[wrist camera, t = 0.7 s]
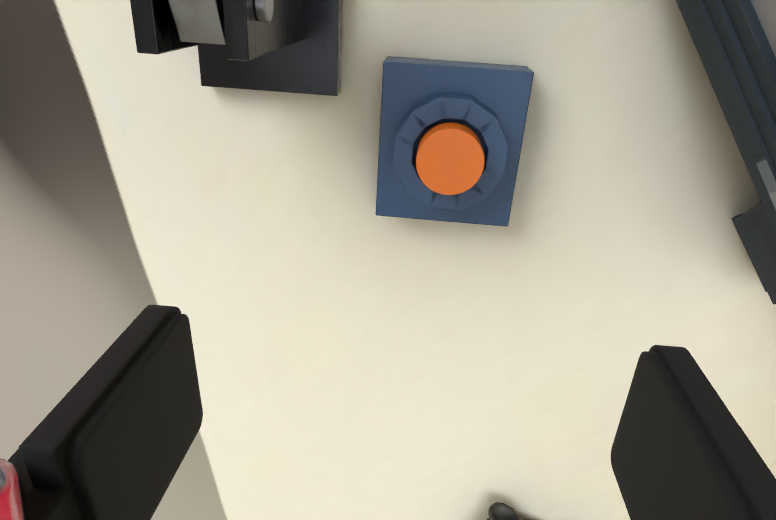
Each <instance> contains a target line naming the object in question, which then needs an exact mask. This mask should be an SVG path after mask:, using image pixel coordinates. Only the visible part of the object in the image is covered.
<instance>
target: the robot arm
mask: <svg viewBox="0 0 776 520" xmlns="http://www.w3.org/2000/svg"><path fill="white" fill-rule="evenodd" d="M202 416H203V411H202V404H201V397H200V391H199V384H198V377H197V371H196V364H195V357H194V351H193V344H192V337H191V331H190V324H189V319H188V317H187V315H185V314H181V311H180V309H179V308H177V307H173V306H160V305H148V306H147V307H146V308H145V309H144V310H143V311H142V312H141V313H140V314H139V316H138V317H137V318H136V319H135V320H134V321H133V322H132V323H131V324H130V326H128V328H127V329H126V330H125V331H124V332H123V333H122V334H121V335H120V336H119V337H118V339H117V340H116V341H115V342H114V343H113V344H112V345H111V346H110V347H109V349H108V350H107V351H106V352H105V353H104V354H103V355H102V356H101V357H100V358H99V359H98V361H97V362H96V363H95V364H94V365H93V366H92V367H91V368H90V369H89V370H88V371H87V373H86V374H85V375H84V376H83V377H82V378H81V379H80V380H79V381H78V383H76V385H75V386H74V387H73V388H72V389H71V390H70V391H69V392H68V393H67V394H66V396H65V397H64V398H63V399H62V400H61V401H60V402H59V403H58V404H57V406H56V407H55V408H54V409H53V410H52V411H51V412H50V413H49V414H48V415H47V416H46V418H45V419H44V420H43V421H42V422H41V423H40V424H39V425H38V426H37V427H36V428H35V430H34V431H33V432H32V433H31V434H30V435H29V436H28V437H27V438H26V439H25V441H24V442H23V443H22V444H21V445H20V446H19V449H18V450H17V451H16V452H15V453H14V454H13V455H12V456H11V457H10V459H9V460H8V461H7V460H5V459H0V520H150V519H151V518H152V516H153V514H154V512H155V510H156V508H157V506H158V505H159V503H160V501H161V499H162V497H163V495H164V493H165V491H166V490H167V488H168V486H169V484H170V482H171V481H172V479H173V477H174V475H175V473H176V471H177V470H178V468H179V466H180V464H181V462H182V460H183V458H184V457H185V454H186V453H187V451H188V449H189V447H190V446H191V444H192V442H193V440H194V438H195V436H196V434H197V433H198V431H199V429H200V426H201V423H202ZM611 464H612V468H613V471H614V474H615V477H616V480H617V483H618V485H619V488H620V491H621V494H622V497H623V499H624V502H625V505H626V508H627V511H628V513H629V516H630V519H631V520H776V479H775V477H774V476H773V474H772V473H771V471H770V470H769V468H768V467H767V465H766V464H765V463H764V461H763V460H762V458H761V457H760V455H759V454H758V452H757V451H756V449H755V448H754V446H753V445H752V443H751V442H750V440H749V439H748V437H747V436H746V435H745V433H744V432H743V430H742V429H741V427H740V426H739V425H738V423H737V422H736V420H735V419H734V418H733V416H732V415H731V413H730V412H729V410H728V409H727V407H726V406H725V404H724V403H723V401H722V400H721V398H720V397H719V395H718V394H717V392H716V391H715V389H714V388H713V387H712V385H711V384H710V382H709V381H708V379H707V378H706V376H705V375H704V373H703V372H702V370H701V369H700V367H699V366H698V364H697V363H696V361H695V360H694V358H693V357H692V356H691V354H690V353H689V351H688V350H687V349H686V348H683V347H673V346H661V345H654V346H652V347H651V348H650V350H649V352H645V351H644V352H642V353H641V355H640V357H639V360H638V363H637V367H636V370H635V373H634V377H633V380H632V383H631V386H630V390H629V393H628V396H627V400H626V403H625V406H624V410H623V413H622V416H621V419H620V423H619V426H618V429H617V433H616V436H615V439H614V442H613V446H612V450H611Z"/></svg>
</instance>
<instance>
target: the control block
mask: <svg viewBox="0 0 776 520" xmlns="http://www.w3.org/2000/svg"><path fill="white" fill-rule="evenodd" d="M533 75H534V72H533V71H532V70H530V69H529V68H528V67H527V66H514V65H500V64H486V63H472V62H458V61H444V60H430V59H416V58H402V57H387V58H386V59H385V61H384V62H383V81H382V100H381V120H380V139H379V159H378V178H377V198H376V215H379V216H391V217H402V218H414V219H426V220H437V221H449V222H461V223H472V224H484V225H496V226H508V222H509V216H510V211H511V205H512V199H513V193H514V187H515V181H516V175H517V169H518V163H519V158H520V152H521V146H522V140H523V134H524V128H525V122H526V116H527V110H528V104H529V99H530V93H531V87H532V81H533ZM448 122H454V123H459V124H462V125H465V126H467V127H468V128H470V129H471V130H472V131H473V132H474V133H475V134H476V135H477V137H478V138H479V140H480V142H481V145H482V149H483V153H484V160H485V162H484V169H483V172H482V175H481V177H480V178H479V180H478V181H477V182H476V184H475V185H474V186H472V187H471V188H470V189H468V190H467V191H465V192H463V193H460V194H456V195H444V194H439V193H437V192H434V191H432V190H431V189H429V188H428V187H427V186H426V185H425V184H424V183H423V182H422V181H421V179H420V177H419V175H418V172H417V168H416V157H417V150H418V146H419V143H420V141H421V139H422V137H423V136H424V135H425V134H426V133H427V132H428V131H429V130H430V129H431V128H433V127H435V126H436V125H439V124H442V123H448Z"/></svg>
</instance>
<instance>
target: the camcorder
mask: <svg viewBox="0 0 776 520" xmlns="http://www.w3.org/2000/svg"><path fill="white" fill-rule="evenodd" d="M487 520H529V519H525V518H521V519H519V517H518V516H517V514H516V512H515V511H514V509H513V508H511V507H510V506H508V505H506V504H504V503H499V502H497V503H494V504H492V505H491V506H490V507H489V518H488V519H487Z"/></svg>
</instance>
